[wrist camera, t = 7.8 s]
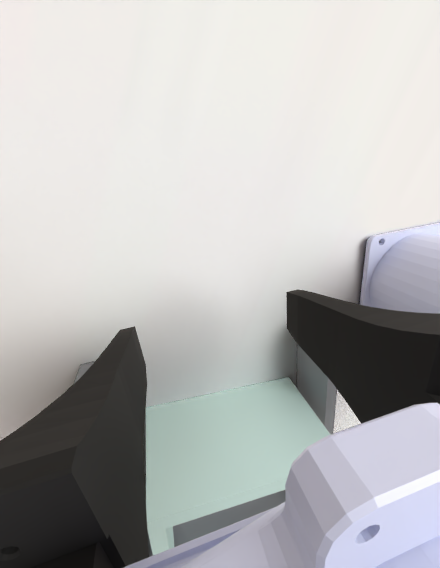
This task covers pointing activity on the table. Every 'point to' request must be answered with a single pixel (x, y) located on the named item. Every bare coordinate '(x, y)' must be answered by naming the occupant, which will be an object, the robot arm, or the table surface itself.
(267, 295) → the table surface
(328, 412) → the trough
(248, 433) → the l-shaped corner panel
